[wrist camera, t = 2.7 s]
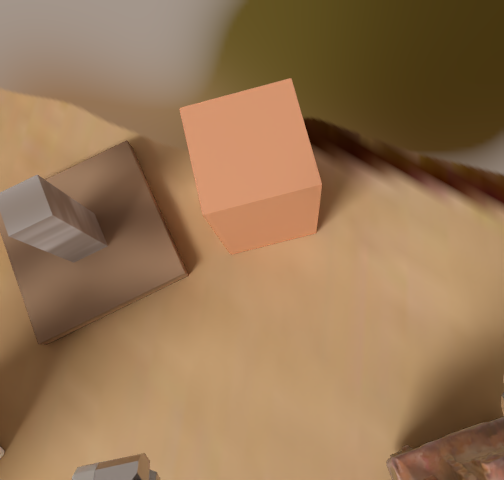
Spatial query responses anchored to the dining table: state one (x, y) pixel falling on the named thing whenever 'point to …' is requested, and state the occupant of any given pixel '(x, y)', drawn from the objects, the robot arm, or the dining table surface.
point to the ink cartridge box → (1, 452)
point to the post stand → (86, 242)
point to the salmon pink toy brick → (254, 166)
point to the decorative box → (454, 456)
